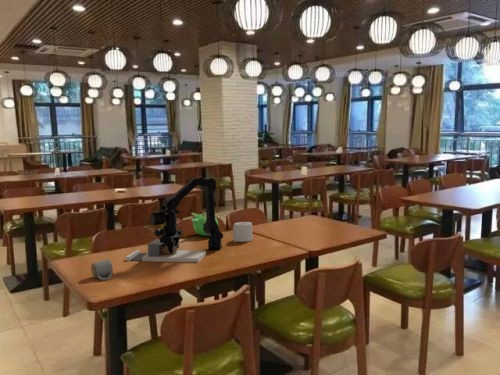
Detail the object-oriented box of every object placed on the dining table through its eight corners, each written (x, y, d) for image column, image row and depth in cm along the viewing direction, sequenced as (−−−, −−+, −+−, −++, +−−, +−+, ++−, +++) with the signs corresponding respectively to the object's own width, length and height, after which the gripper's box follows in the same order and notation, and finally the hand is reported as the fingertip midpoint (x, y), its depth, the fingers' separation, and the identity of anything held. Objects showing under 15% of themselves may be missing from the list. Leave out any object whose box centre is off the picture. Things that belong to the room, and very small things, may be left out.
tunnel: (167, 251, 237) (166, 239, 236) (159, 256, 226) (158, 244, 226) (156, 250, 238) (155, 239, 237) (148, 256, 227) (147, 244, 227)
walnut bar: (176, 252, 233) (176, 245, 232) (173, 255, 228) (173, 247, 228) (151, 252, 235) (151, 245, 235) (148, 254, 231) (147, 247, 230)
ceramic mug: (90, 276, 204) (89, 260, 203) (108, 272, 209) (107, 257, 208) (97, 282, 196) (96, 266, 195) (116, 278, 201) (114, 262, 199)
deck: (206, 254, 235) (205, 250, 235) (198, 262, 221) (198, 258, 221) (137, 253, 242) (137, 249, 242) (125, 260, 228) (125, 257, 228)
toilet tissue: (254, 237, 268) (253, 221, 267) (250, 242, 257) (249, 225, 256) (237, 237, 271) (236, 221, 269) (232, 242, 259) (231, 225, 258)
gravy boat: (219, 237, 273) (218, 213, 271) (192, 239, 270) (191, 215, 268) (217, 231, 290) (216, 209, 289) (191, 233, 288) (190, 210, 286)
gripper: (162, 219, 239) (164, 247, 241) (149, 226, 221) (150, 256, 223) (182, 219, 237) (183, 247, 239) (170, 226, 219) (171, 257, 221)
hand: (172, 252), depth 231 cm, fingers closed on walnut bar, 4 cm apart
